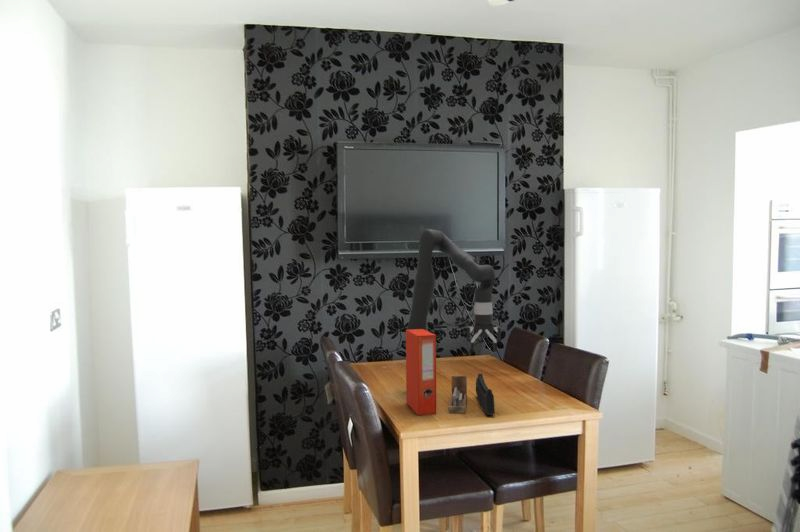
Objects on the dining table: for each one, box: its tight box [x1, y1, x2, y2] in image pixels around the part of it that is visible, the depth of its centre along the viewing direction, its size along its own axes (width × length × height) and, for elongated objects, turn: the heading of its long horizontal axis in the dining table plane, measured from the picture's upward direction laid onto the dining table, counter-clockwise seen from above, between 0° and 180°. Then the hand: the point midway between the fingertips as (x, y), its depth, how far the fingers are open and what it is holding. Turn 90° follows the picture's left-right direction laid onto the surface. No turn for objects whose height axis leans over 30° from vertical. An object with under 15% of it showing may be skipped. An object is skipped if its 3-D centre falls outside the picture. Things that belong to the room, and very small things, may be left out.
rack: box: [448, 375, 468, 414], centre depth 240 cm, size 6×22×10 cm, turn 172°
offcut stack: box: [453, 388, 464, 407], centre depth 240 cm, size 3×14×6 cm, turn 172°
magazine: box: [475, 373, 496, 415], centre depth 237 cm, size 17×3×30 cm
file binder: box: [405, 329, 437, 416], centre depth 236 cm, size 8×17×32 cm, turn 15°
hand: (483, 351), depth 238 cm, fingers open, 8 cm apart
